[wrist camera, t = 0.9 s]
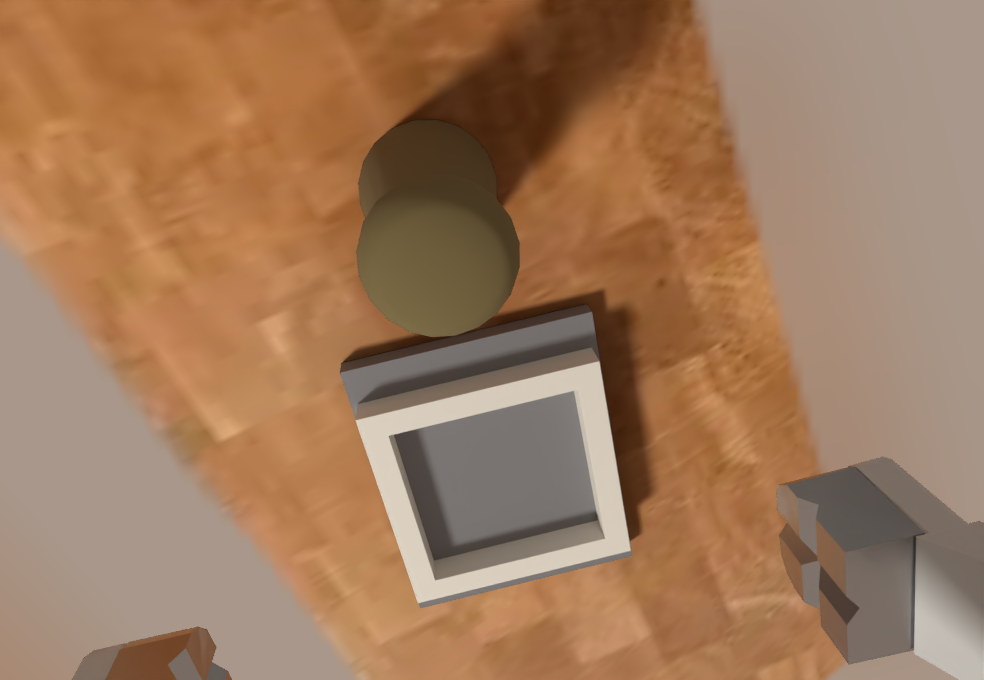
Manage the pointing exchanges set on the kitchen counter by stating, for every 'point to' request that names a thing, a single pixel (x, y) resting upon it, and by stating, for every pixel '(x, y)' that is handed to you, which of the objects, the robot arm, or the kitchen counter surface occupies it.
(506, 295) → the olive knobbed peg
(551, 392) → the notch board
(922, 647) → the robot arm
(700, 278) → the kitchen counter surface
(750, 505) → the kitchen counter surface
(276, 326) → the kitchen counter surface
